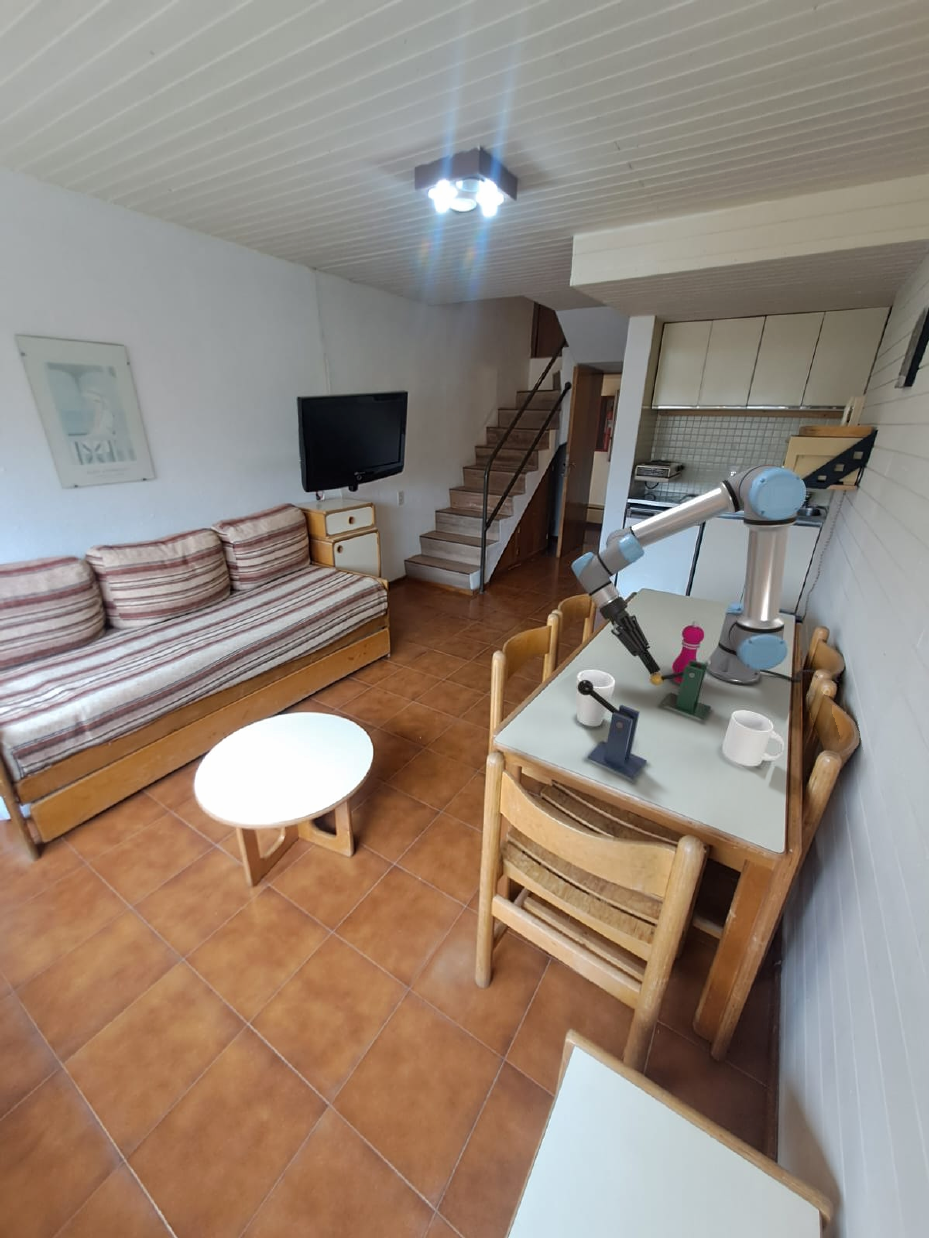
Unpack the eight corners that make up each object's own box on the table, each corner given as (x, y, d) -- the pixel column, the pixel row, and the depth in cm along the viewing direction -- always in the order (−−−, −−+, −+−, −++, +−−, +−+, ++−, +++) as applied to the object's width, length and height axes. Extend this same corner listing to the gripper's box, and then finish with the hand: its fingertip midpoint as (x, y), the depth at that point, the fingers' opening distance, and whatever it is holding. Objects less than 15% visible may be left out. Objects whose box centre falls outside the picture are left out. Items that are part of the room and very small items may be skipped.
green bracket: (660, 707, 137) (670, 663, 132) (670, 696, 143) (680, 653, 138) (702, 722, 131) (714, 677, 126) (710, 710, 137) (722, 666, 131)
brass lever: (651, 688, 140) (646, 677, 140) (655, 683, 143) (650, 672, 143) (700, 678, 130) (695, 666, 130) (704, 673, 133) (699, 661, 133)
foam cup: (579, 733, 125) (586, 689, 120) (565, 713, 133) (571, 671, 128) (614, 730, 127) (622, 686, 122) (597, 710, 135) (604, 668, 130)
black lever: (572, 690, 115) (579, 680, 113) (579, 684, 117) (586, 674, 115) (622, 732, 109) (631, 722, 107) (628, 725, 112) (637, 715, 110)
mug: (777, 780, 111) (791, 741, 107) (719, 761, 116) (730, 723, 112) (776, 758, 118) (790, 721, 114) (721, 742, 123) (732, 706, 119)
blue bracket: (587, 760, 115) (595, 710, 110) (601, 744, 121) (610, 696, 116) (632, 782, 109) (643, 730, 103) (645, 764, 115) (656, 714, 109)
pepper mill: (690, 676, 155) (704, 617, 147) (698, 688, 148) (713, 627, 140) (666, 674, 155) (679, 616, 147) (673, 686, 148) (687, 625, 141)
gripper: (608, 602, 150) (652, 668, 147) (589, 614, 140) (636, 685, 137) (628, 590, 145) (674, 658, 142) (610, 601, 135) (658, 675, 132)
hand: (655, 671), depth 139 cm, fingers closed
